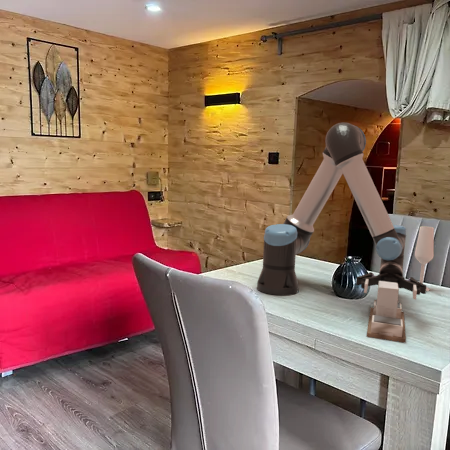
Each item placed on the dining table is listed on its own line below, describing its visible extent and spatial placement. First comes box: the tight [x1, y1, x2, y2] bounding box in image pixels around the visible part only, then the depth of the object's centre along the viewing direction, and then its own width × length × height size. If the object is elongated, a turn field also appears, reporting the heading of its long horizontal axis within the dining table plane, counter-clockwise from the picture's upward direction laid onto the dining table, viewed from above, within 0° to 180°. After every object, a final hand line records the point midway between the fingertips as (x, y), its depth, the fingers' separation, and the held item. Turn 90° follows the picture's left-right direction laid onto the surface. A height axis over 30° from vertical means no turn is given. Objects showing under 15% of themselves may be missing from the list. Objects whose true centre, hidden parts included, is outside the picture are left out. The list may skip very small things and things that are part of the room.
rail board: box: [366, 298, 407, 343], centre depth 133 cm, size 10×24×4 cm, turn 160°
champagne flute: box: [414, 225, 435, 292], centre depth 172 cm, size 7×7×24 cm
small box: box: [376, 281, 400, 318], centre depth 133 cm, size 8×6×10 cm
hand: (389, 291), depth 132 cm, fingers open, 13 cm apart
